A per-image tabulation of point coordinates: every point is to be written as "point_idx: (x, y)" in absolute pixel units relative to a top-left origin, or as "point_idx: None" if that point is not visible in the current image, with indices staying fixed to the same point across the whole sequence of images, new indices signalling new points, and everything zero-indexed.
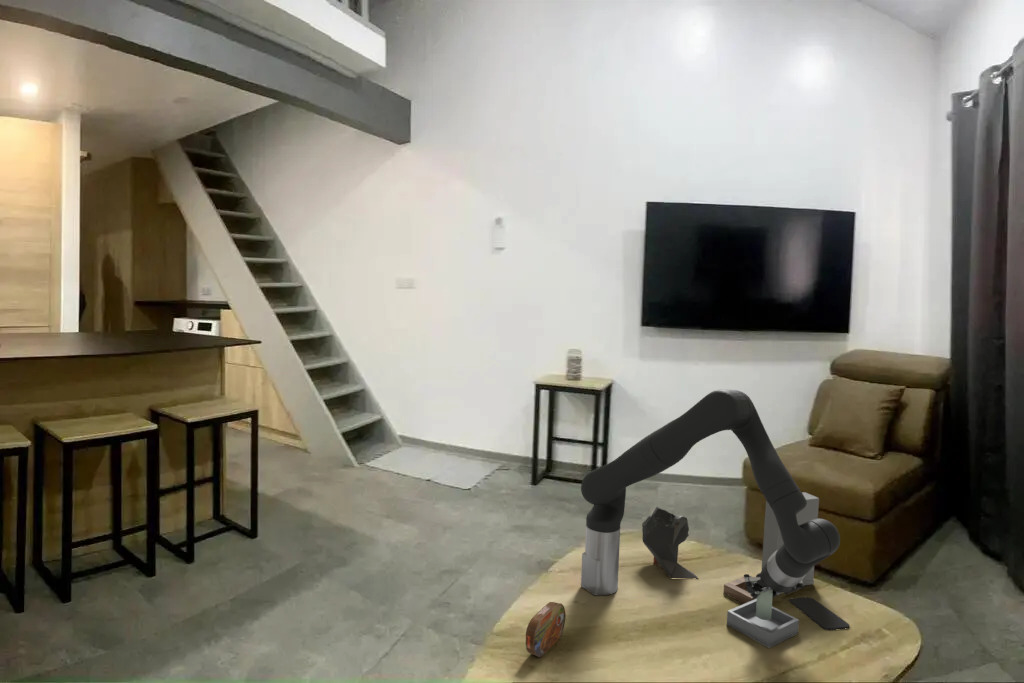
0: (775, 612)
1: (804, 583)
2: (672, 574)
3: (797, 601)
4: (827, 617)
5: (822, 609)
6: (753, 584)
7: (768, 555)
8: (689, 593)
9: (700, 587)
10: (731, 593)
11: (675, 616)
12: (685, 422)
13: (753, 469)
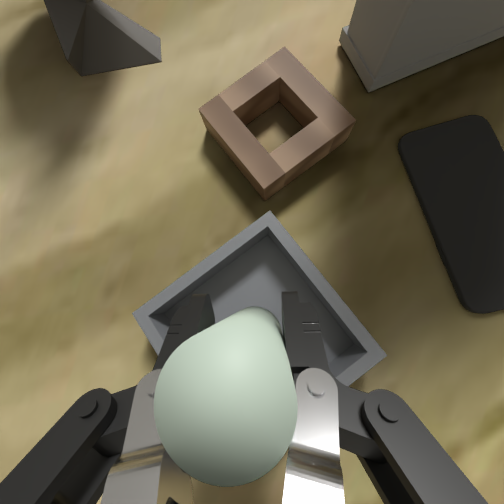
0: (314, 287)
1: (488, 38)
2: (81, 57)
3: (426, 149)
4: (501, 241)
5: (499, 190)
6: (123, 431)
7: None
8: (107, 145)
9: (149, 107)
10: (220, 142)
11: (26, 278)
12: None
13: None
